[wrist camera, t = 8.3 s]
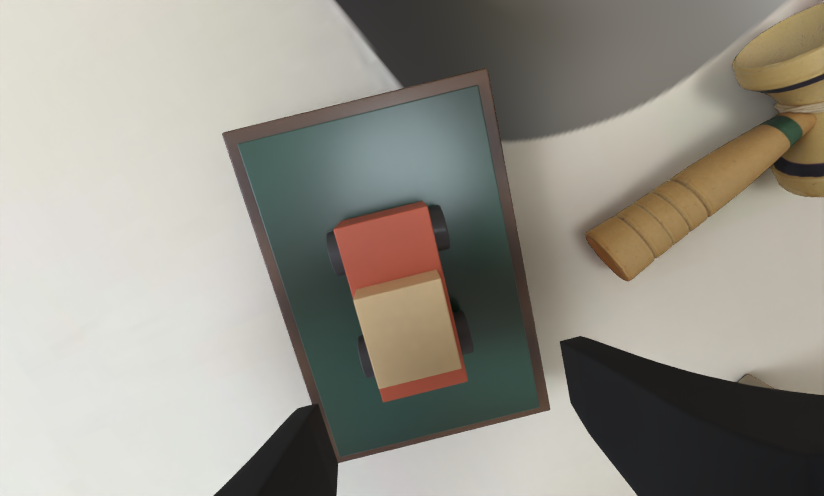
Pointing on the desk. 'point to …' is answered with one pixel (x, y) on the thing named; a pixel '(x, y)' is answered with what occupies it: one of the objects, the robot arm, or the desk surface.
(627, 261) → the kendama
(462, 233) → the green topped wooden block
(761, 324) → the desk surface
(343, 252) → the toy car
